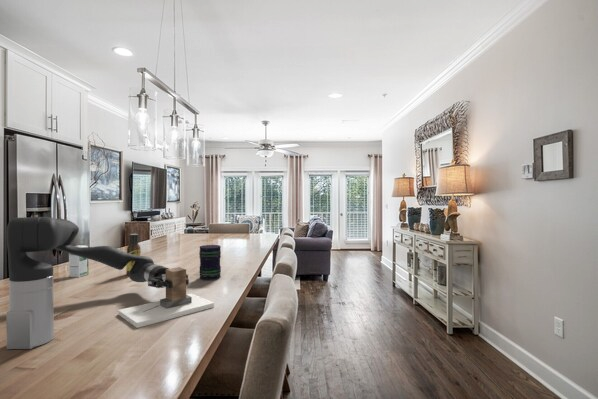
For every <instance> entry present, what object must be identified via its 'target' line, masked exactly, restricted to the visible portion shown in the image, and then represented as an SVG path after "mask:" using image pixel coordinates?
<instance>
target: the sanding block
mask: <svg viewBox="0 0 598 399" xmlns="http://www.w3.org/2000/svg"><path fill="white" fill-rule="evenodd" d="M186 274H187V269H186V268H183V267H173V268H169V269H166V279H167V280H169V281H171V282H173V288H171V289H170V288H168V287H165V298H160V299H159V301H160V306H162V307H164V308H166V309H168V308H172V307H176V306H180V305H184V304H188V303H192V297H190V296H188V295H187V285H186Z"/></svg>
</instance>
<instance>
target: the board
mask: <svg viewBox="0 0 598 399" xmlns="http://www.w3.org/2000/svg"><path fill="white" fill-rule="evenodd" d="M186 295H188V296H190V297H192V303H188V304H184V305H180V306H176V307H172V308H168V309H166V308H164V307H162V306H160V300H157V301H153V302H152V301H151V302H148V303H144V304H139V305H136V306H129V307H127V308H126V307H125V308H121V309H118V310H117V311H118V313H117V314H118V316H119V317H121V318H122V319H124V320H125V321H127V323H129V324H130V325H132V326H134V328H137V329H138V328H142V327H146V326H149V325H152V324H156V323H157V324H158V323H161V322H164V321H167V320H168V321H169V320H172V319H175V318H179V317H182V316H186V315H189V314H194V313H198V312H201V311H205V310H208V309H213V308H214V307H215V302H213V301H211V300H208V299H206V298H203V297H202V296H198V295H196V294H194V293H188V294H187V293H186Z"/></svg>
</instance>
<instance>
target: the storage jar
mask: <svg viewBox="0 0 598 399" xmlns="http://www.w3.org/2000/svg"><path fill="white" fill-rule="evenodd" d="M221 248H222V247H221V245H220V244H219V245H218V244H206V245H205V244H204V245H201V246H199V272H198V273H199V279H200V280H201V281H214V280H219V279H221V277H222V276H221V273H222V272H221V271H222V266H221V257H222V256H221V254H222V252H221Z"/></svg>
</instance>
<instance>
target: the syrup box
mask: <svg viewBox="0 0 598 399" xmlns="http://www.w3.org/2000/svg"><path fill="white" fill-rule="evenodd" d="M74 246H75V247H83V248H85V247H89V246H88V245H86V244H85V245H84V244H81V245H79V244H78V245H74ZM68 263H69V264H68V267H69V268H68V269H69V270H68V271H69V272H68V273H69V277H70V278H71V277H72V278H80V277H85V276H88V275H89V274H90V273H89V259H87V258H83V257H80V256H76V255H73V254H69V253H68Z"/></svg>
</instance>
